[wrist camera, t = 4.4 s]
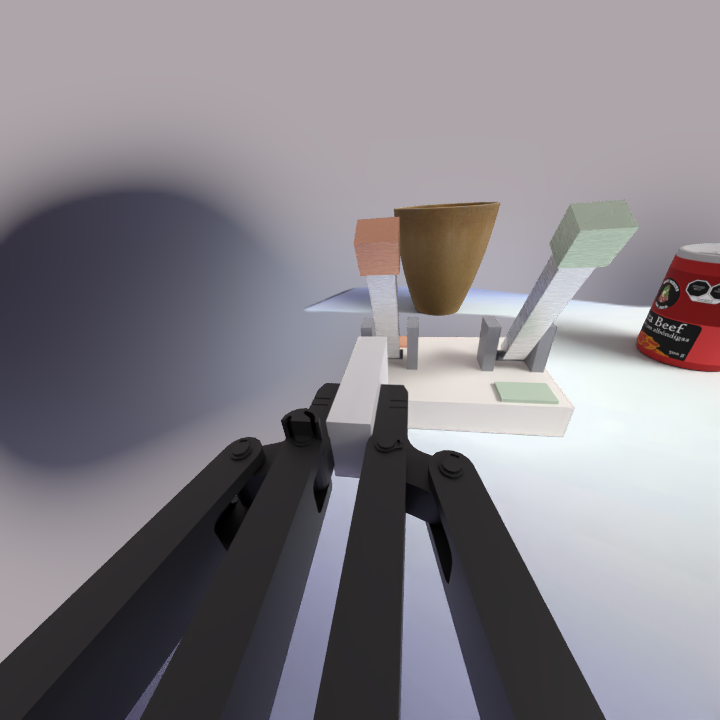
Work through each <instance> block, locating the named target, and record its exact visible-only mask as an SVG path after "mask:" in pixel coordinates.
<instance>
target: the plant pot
mask: <svg viewBox="0 0 720 720" xmlns="http://www.w3.org/2000/svg"><path fill="white" fill-rule="evenodd" d="M499 206H500V202H477V203H476V202H475V203H455V204H438V205H425V206H413V207H402V208H394V215H395V217H399V220H400V256H401V260H402V265H403V270H404V274H405V278H406V281H407V285H408V288H409V292H410V295H411V298H412V301H413V303H414V306H415V309H416V310H417V311H418V312H420V313H423V314H427V315H437V316H438V315H449V314H453V313H455V312H457V311H458V310H459V308H460V306H461V304H462V302H463V301H464V299H465V297H466V295H467V293H468V291H469V289H470V287H471V284H472V282H473V280H474V278H475V276H476V273H477V271H478V268H479V266H480V263H481V261H482V259H483V256H484V253H485V251H486V248H487V245H488V242H489V239H490V236H491V233H492V230H493V227H494V223H495V220H496V216H497V213H498V210H499Z"/></svg>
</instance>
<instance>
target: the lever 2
mask: <svg viewBox="0 0 720 720" xmlns="http://www.w3.org/2000/svg"><path fill="white" fill-rule="evenodd" d="M638 228H639V226H638V224H637V222H636V220H635V219H634V217H633V215H632V213H631V211H630V209H629V207H628V206H627V203H626V202H625V200H619V201H605V202H592V203H578V204H570V206H569V207H568V209H567V211H566V213H565V215H564V217H563V219H562V221H561V223H560V224H559V226H558V228H557V230H556V232H555V234H554V236H553V238H552V240H551V242H550V246H551V249H552V255H551V257H550V259H549V261H548V263H547V264H546V266H545V268H544V269H543V271H542V273H541V275H540V277H539V279H538V280H537V282H536V284H535V286H534V287H533V289H532V291H531V293H530V294H529V296H528V298H527V300H526V302H525V303H524V305H523V307H522V309H521V310H520V312H519V314H518V316H517V318H516V319H515V321H514V323H513V325H512V326H511V328H510V330H509V332H508V334H507V335H506V337H505V339H504V341H503V342H502V344H501V350H497V353H496V359H495V360H496V361H525V360H526V357H527V356H528V354H529V353H530V352H531V350H532V349H533V348H534V346H535V345H536V344H537V343H538V341H539V340H540V339H541V337H542V336H543V335H544V333H545V332H546V331H547V330H548V328H549V327H550V326H551V324H552V323H553V322H554V321H555V319H556V318H557V317H558V315H559V314H560V313H561V311H562V310H563V309H564V308H565V306H566V305H567V304H568V302H569V301H570V300H571V298H572V297H573V296H574V294H575V293H576V292H577V291H578V289H579V288H580V286H581V285H582V284H583V283H584V282H585V280H586V279H587V278H588V276H589V275H590V274H591V272H592V271H593V270H594V269H595V267H607V266H608V265H609V264H610V262H611V261H612V260H613V259H614V257H615V256H616V255H617V254H618V253H619V251H620V250H621V249H622V248H623V246H624V245H625V244H626V243H627V241H628V240H629V239H630V238H631V237H632V235H633V234H634V233H635V232H636V230H637V229H638Z"/></svg>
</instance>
